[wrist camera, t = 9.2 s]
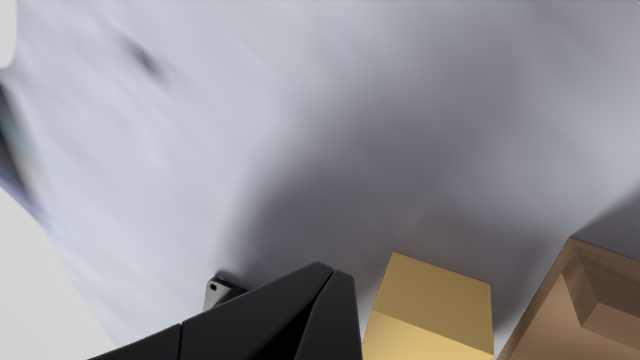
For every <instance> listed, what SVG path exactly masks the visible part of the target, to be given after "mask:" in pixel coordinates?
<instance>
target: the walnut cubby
mask: <svg viewBox="0 0 640 360" xmlns="http://www.w3.org/2000/svg"><path fill="white" fill-rule="evenodd" d="M497 360H640V261H637V260H634V259H631V258H629V257H626V256H623V255H620V254H617V253H614V252H612V251H609V250H606V249H603V248H600V247H597V246H594V245H592V244H589V243H586V242H583V241H580V240H577V239H575V238H572V237H569V239H568V241H567V242H566V244H565V246H564V247H563V249H562V251H561V252H560V254H559V256H558V258H557V259H556V261H555V263H554V264H553V266H552V268H551V269H550V271H549V273H548V274H547V276H546V278H545V279H544V281H543V283H542V284H541V286H540V288H539V289H538V291H537V293H536V294H535V296H534V298H533V299H532V301H531V303H530V304H529V306H528V308H527V309H526V311H525V313H524V315H523V316H522V318H521V320H520V321H519V323H518V325H517V326H516V328H515V330H514V331H513V333H512V335H511V336H510V338H509V340H508V341H507V343H506V345H505V346H504V348H503V350H502V351H501V353H500V355H499V356H498V358H497Z"/></svg>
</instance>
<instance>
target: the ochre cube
mask: <svg viewBox="0 0 640 360" xmlns="http://www.w3.org/2000/svg"><path fill="white" fill-rule="evenodd" d="M362 355H363V360H492V359H493V357H494V346H493V327H492V309H491V290H490V284H488V283H485V282H482V281H479V280H476V279H473V278H470V277H467V276H464V275H461V274H458V273H455V272H452V271H449V270H446V269H444V268H441V267H438V266H435V265H432V264H429V263H426V262H423V261H420V260H417V259H414V258H411V257H408V256H405V255H402V254H399V253H396V252H392V255H391V258H390V261H389V263H388V266H387V269H386V272H385V274H384V277H383V280H382V283H381V285H380V288H379V291H378V294H377V297H376V299H375V302H374V305H373V308H372V311H371V314H370V318H369V321H368V325H367V328H366V332H365V335H364V339H363V342H362Z"/></svg>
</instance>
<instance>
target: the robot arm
mask: <svg viewBox="0 0 640 360" xmlns="http://www.w3.org/2000/svg"><path fill="white" fill-rule="evenodd" d="M215 285H216V286H215ZM88 360H363V355H362V346H361V337H360V328H359V318H358V309H357V300H356V291H355V282H354V278H353V276H351V275H349V274H347V273H344V272H342V271H339V270H335V271H334V269H333V268H332V267H330V266H327V265H325V264H323V263H320V262H313V263H311V264H309V265H307V266H305V267H302V268H300V269H298V270H296V271H293V272H291V273H289V274H287V275H285V276H282V277H280V278H278V279H276V280H273V281H271V282H269V283H267V284H265V285H262V286H260V287H258V288H256V289H253V290H251V291H249V292H247V291H245V290H243V289H241V288H239V287H237V286H234V285H232V284H230V283H228V282H226V281H223V280H221V279H219V278H216V277H213V278H212V279H210V280H209V281H208V283H207V287H206V294H205V302H204V310H203V312H202V313H200V314H198V315H196V316H194V317H191V318H189V319H187V320H185V321H183V322H182V325H181V324H180V323H178V324H175V325H173V326H171V327H169V328H166V329H164V330H162V331H160V332H157V333H155V334H153V335H150V336H148V337H145V338H143V339H141V340H138V341H136V342H134V343H131V344H129V345H126V346H123V347H121V348H118V349H115V350H113V351H110V352H107V353H104V354H102V355H99V356H96V357H93V358H90V359H88Z"/></svg>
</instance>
